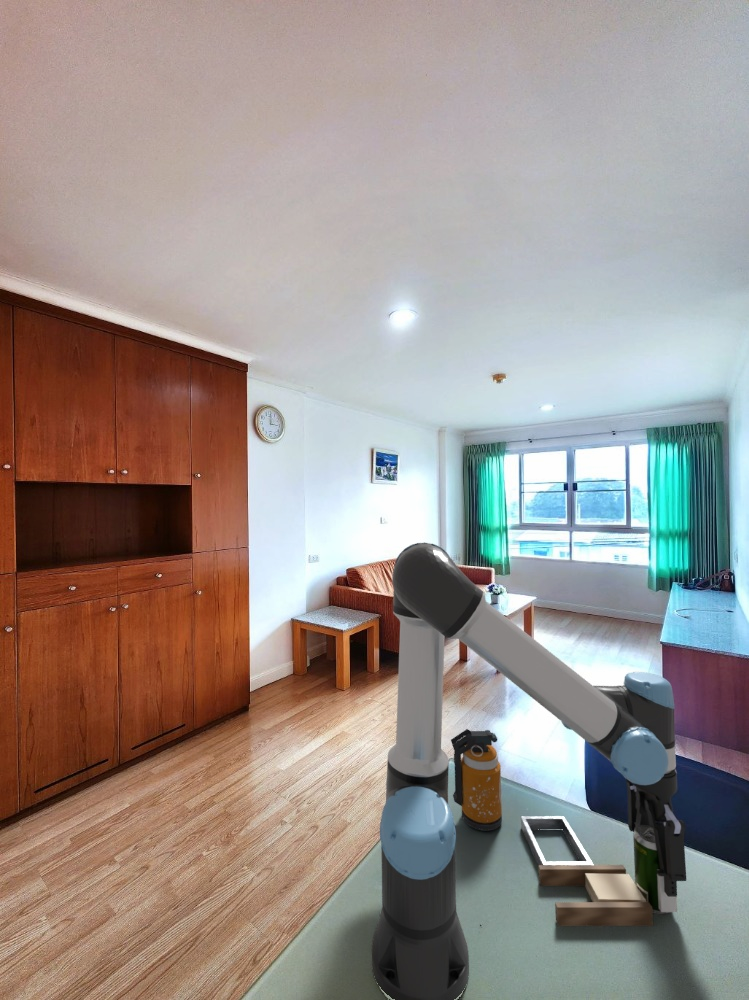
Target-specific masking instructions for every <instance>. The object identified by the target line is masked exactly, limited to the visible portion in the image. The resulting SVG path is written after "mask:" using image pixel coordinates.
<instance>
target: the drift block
mask: <svg viewBox="0 0 749 1000" xmlns="http://www.w3.org/2000/svg"><path fill="white" fill-rule="evenodd" d="M584 887H585V889H586V890H585V891H587V893H588V896H589V897H590V899H591V902H646V900H645V898H644V897H643V895H642V894H641V892H640V891H639V889H638V887H637V886H636V884H635V880H633V878H632V877H631V876H630V874H629V873H626V874H596V873H585V886H584Z"/></svg>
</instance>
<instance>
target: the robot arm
mask: <svg viewBox="0 0 749 1000" xmlns="http://www.w3.org/2000/svg"><path fill="white" fill-rule="evenodd" d="M392 571H393V572H392V577H391V578H392V579H391V580H392V587H393V595H392V597H393V599H392V601H393V602H392V613H393V615H394V616H395V617H396V618H397V619H398V621H399V623H400V625H399V648H398V649H399V650H398V651H399V652H398V653H399V654H398V677H397V681H398V683H397V705H396V706H397V708H396V731H395V732H396V733H395V734H396V736H395V737H396V738H395V744H394V745H393V746H392V747H391V748H390V749H389V750H388V751H387V752H388V753H387V767H386V781H385V787H386V788H385V789H386V791H385V804H384V805H383V808H382V811H381V816H380V823H379V839H380V843H381V846H380V847H381V849H380V850H381V852H380V853H381V854H380V855H381V856H380V857H381V905H382V906H381V909H380V912H379V917H378V919H377V923H376V926H375V929H374V933H373V936H372V941H371V942H372V943H371V966H372V967H371V969H372V968H373V969H372V974H373V973H374V974H373V977H374V976H375V978H374V980H375V979H376V980H375V983H376V982H377V983H378V985H379V986H380V987H381V989H382V990H383V991H384V992H385V993H386V994H387V995H389V996H390V997H391V998H392V999H395V1000H454V999H456V998H457V997H458V996H459V995H460V994H461V993H462V991H463V990H464V988H465V986H466V984H467V985H468V983H467V982H469V977H470V959H469V957H470V956H469V948H468V947H469V946H468V944H467V943H468V942H467V939H466V937H465V933H464V930H463V927H462V924H461V922H460V918H459V915H458V913H457V904H456V903H457V892H456V891H457V890H456V889H457V887H456V886H457V885H456V850H455V848H456V840H457V833H456V831H457V830H456V824H455V820H454V815H453V813H452V810H451V808H450V805H449V764H450V762H449V757H448V755H447V753H446V752H445V751H444V750H443V749H442V733H443V732H442V729H443V728H442V725H443V722H442V721H443V700H444V699H443V697H444V695H443V694H444V693H443V692H444V664H445V663H444V662H445V661H444V659H445V639H447V640H456V639H458V640H459V641H460V642H461V643H463V644H464V645H466V647H468V648H469V649H470V650H471V651H472V652H473V653H475V654H476V655H478V656H479V657H480V658H481V659H483V660H484V661H485V662H487V663H488V664H489V666H492V668H494V669H495V670H497V671H498V672H499V673H500V674H502V675H503V676H504V677H505V678H507V679H508V680H509V681H510V682H512V683H513V684H514V685H515V686H516V687H517V688H519V689H520V690H521V691H522V692H524V693H525V694H527V696H529V697H531V698H532V699H533V700H534V701H535V702H537V703H538V704H539V705H540V706H542V708H544V709H545V710H547V711H548V712H549V713H550V714H551V715H553V716H554V717H555V718H557V719H558V720H559V721H560V722H561V723H562V726H564V728H566V729H567V730H571V731H573V732H574V733H575V734H577V735H578V736H579V737H580V738H582V739H583V740H584V741H586V743H588V744H589V745H590V746H591V747H592V748H593V749H595V750H596V751H597V752H598V753H600V754H601V755H602V756H603V757H604V758H606V759H607V760H608V761H609V762H610V763H611V764H612V767H613V768H614V769H615V770H616V771H617V772H619V773H620V774H621V775H622V776H623V777H624V778H625V783H626V788H627V825H628V829H629V831H630V832H633V833H634V831H635V826H636V825H639V824H647V825H650V826H651V827H653V830H654V836H655V841H656V847H657V853H658V859H659V864H660V870H656V871H657V881H658V905H659V909H660V911H661V912H667V913H678V901H677V900H678V899H677V898H678V885H677V884H678V883H677V882H687V869H686V868H687V867H686V866H687V865H686V853H685V850H686V849H685V836H684V835H685V832H686V828H687V827H686V824H685V822H684V820H682V819H677V818H676V816H675V814H674V813H673V812H674V808H673V804H672V797H673V796H674V795H675V794H676V793H677V792H678V777H677V776H678V772H677V769H676V767H677V760H676V759H677V758H676V749H677V748H676V747H677V746H676V732H675V731H676V730H675V729H676V728H675V709H676V708H675V707H676V706H675V701H674V692H673V687H672V684H671V683H670V681H668V680H667V679H666V678H664V677H663V676H661V675H658V674H655V673H650V672H646V671H633V672H628V673H626V674H625V676H624V681H623V685H592V684H591V682H589V681H587V680H586V679H585V678H583V676H581V675H580V674H579V673H577V672H576V671H575V670H573V669H572V668H571V667H570V666H568V665H567V664H566V663H565V662H563V661H562V660H561V659H560V658H558V657H557V656H556V655H555V654H554V653H552V651H549V650H548V648H546V647H544V646H543V645H542V644H540V643H539V642H538V641H537V640H536V639H534V638H533V637H532V636H531V635H529V634H528V633H526V631H524V630H523V629H522V628H520V627H519V625H517V624H515V622H513V621H512V620H511V619H509V618H508V617H506V616H505V615H504V614H503V613H502V612H500V611H499V610H498V609H497V608H495V607H494V606H492V605H491V604H490V603H489V602H487V600H486V594H485V591H484V590H482V589H481V588H480V587H479V586H478V585H476V584H475V583H474V582H473V581H471V580H470V579H469V577H468V576H466V574H465V573H463V571H462V570H461V569H460V568H459V566H458V565H457V564H456V563H455V562H454V560H453V559H452V558H451V556H450V555H449V554H448V552H446V550H445V549H444V548H442V547H441V546H439V545H437V544H435V543H430V542H416V543H414V544H410V545H409V546H407V547H405V548H404V549H403V550H402V551H401V552H400V553H399V554H398V556H397V558H396V559H395V563H394V567H393V570H392ZM468 976H469V977H468ZM377 983H376V984H377ZM378 985H377V986H378ZM466 987H467V986H466ZM465 989H466V988H465Z"/></svg>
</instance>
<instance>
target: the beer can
mask: <svg viewBox="0 0 749 1000" xmlns="http://www.w3.org/2000/svg"><path fill="white" fill-rule="evenodd" d="M632 836H633V838H632V839H633V860H634V861H633V863H634V864H633V865H634V883H635V884H636V886H637V887H638V889H639V891H640V892H641V894H642V895H643V897H644V898H645V900H646V902H649V903H650V905H651V906H652V913H654V914H658V915H665V914H667V913H668V912H661V911H660V909H659V905H658V881H657V871H656V870H660V864H659V859H658V853H657V847H656V841H655V836H654V830H653V827H651V826H650V825H647V824H639V825H636V826H635V831H634V832H633V835H632Z"/></svg>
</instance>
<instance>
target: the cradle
mask: <svg viewBox="0 0 749 1000" xmlns="http://www.w3.org/2000/svg"><path fill="white" fill-rule="evenodd" d="M520 828H521V830H522V833H523V836H524V837H525V839H526V843H527V844H528V846H529V848H530V850H531V853H532V855H533V858H534V859H535V862H536V864H537V866H538V865H594V863H593V861H592V860H591V858H590V856H589V855H588V853H587V851H586V850H585V848H584V847H583V845H582V843H581V842H580V840H579V839H578V837H577V835H576V833H575V832H574V830H573V829H572V826H571V825H570V823H569V822H568V821H567V819H566V818H565V816H564V815H562V816H561V815H554V816H553V815H552V816H551V815H550V816H549V815H545V816H540V815H539V816H537V815H536V816H535V815H533V816H532V815H531V816H527V815H526V816H525V815H524V816H523V815H522V816H520ZM538 829H539V830H538ZM540 829H563V831H564V832H563V831H562V832H563V834H564V833H565V834H564V835H566V836H565V838H566V837H567V838H566V839H567V841H568V843H569V844H571V845H570V846H571V848H572V850H573V849H574V850H573V852H574V851H575V852H574V853H575V855H576V856H577V858H578V860H579V861H546V859H545V857H544V856H545V855H543V853H542V850H541V849H540V846H539V843H538V842H537V840H536V838H535V835H534V834H533V831H541V830H540Z"/></svg>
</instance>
